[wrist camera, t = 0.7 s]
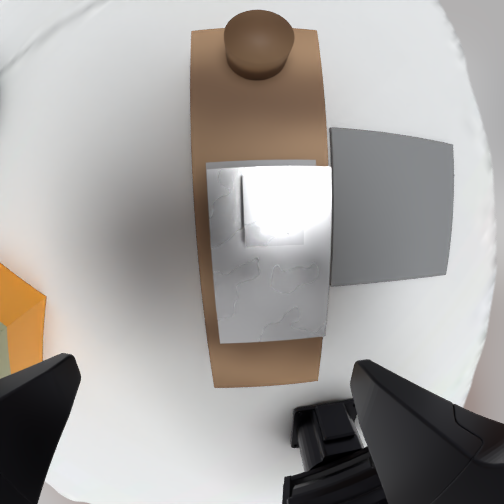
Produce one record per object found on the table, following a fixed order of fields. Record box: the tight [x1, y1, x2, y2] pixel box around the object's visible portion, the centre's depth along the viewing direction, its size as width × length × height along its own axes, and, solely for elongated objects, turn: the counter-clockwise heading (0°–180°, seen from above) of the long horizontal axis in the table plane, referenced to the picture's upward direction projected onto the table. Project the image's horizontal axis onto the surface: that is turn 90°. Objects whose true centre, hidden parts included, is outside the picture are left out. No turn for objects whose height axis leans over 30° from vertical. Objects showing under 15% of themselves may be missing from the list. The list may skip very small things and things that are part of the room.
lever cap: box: [207, 166, 331, 344], centre depth 12 cm, size 7×4×5 cm, turn 2°
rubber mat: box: [330, 127, 454, 287], centre depth 18 cm, size 11×11×1 cm
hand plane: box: [190, 10, 328, 388], centre depth 15 cm, size 22×7×6 cm, turn 2°
